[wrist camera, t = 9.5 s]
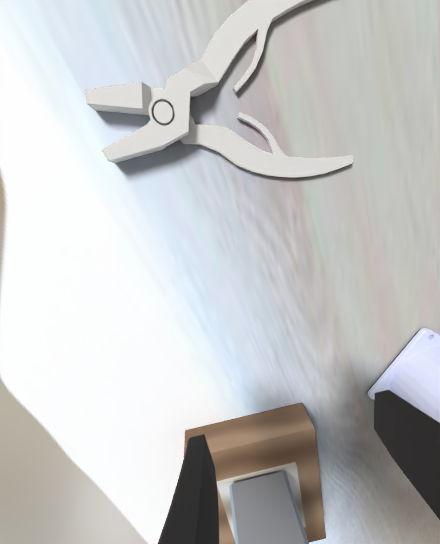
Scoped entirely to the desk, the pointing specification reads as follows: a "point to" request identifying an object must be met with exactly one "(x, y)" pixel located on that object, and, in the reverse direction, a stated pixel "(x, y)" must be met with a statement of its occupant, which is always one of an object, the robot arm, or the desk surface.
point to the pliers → (193, 82)
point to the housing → (266, 511)
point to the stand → (267, 461)
